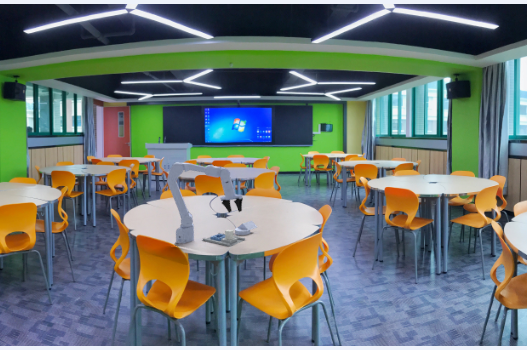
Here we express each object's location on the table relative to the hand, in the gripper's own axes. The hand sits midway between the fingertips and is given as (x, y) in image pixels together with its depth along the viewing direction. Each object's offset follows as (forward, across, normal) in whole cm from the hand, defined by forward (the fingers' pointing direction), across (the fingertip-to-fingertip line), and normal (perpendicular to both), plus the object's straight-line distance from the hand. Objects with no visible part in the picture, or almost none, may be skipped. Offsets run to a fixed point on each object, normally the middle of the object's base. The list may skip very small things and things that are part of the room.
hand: (235, 211), depth 195 cm
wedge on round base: (+17, +4, -7) cm, 19 cm away
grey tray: (+13, +4, +11) cm, 18 cm away
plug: (+13, 0, +11) cm, 17 cm away
